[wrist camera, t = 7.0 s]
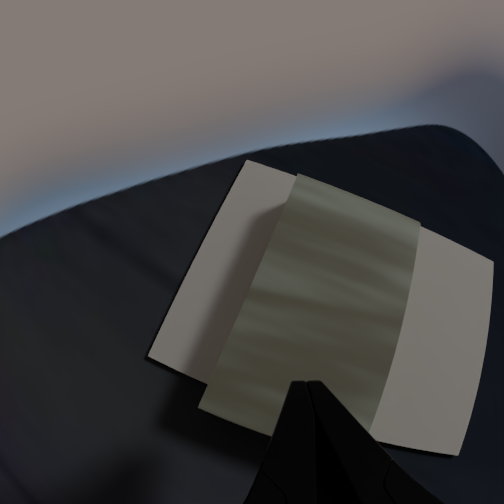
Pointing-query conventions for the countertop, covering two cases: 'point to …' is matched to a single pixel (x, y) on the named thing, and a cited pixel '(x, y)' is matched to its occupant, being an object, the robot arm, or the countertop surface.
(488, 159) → the countertop surface
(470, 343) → the mat
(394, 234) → the layered block
